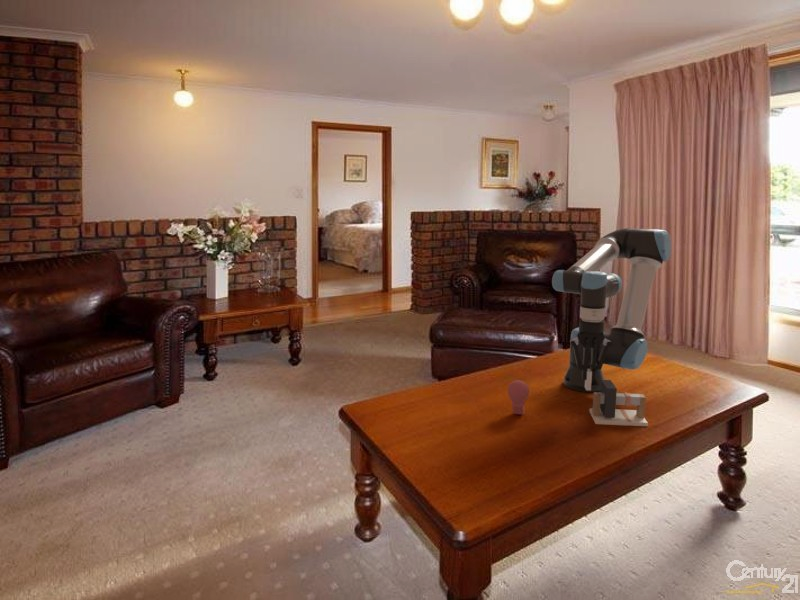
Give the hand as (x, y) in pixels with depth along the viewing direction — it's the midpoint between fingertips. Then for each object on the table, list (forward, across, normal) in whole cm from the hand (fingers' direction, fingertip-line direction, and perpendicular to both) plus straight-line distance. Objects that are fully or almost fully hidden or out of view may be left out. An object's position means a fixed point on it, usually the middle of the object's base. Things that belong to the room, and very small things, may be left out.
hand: (587, 388), depth 174 cm
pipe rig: (+10, +10, 0) cm, 14 cm away
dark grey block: (+8, +7, 0) cm, 10 cm away
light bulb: (+10, -22, 0) cm, 25 cm away
